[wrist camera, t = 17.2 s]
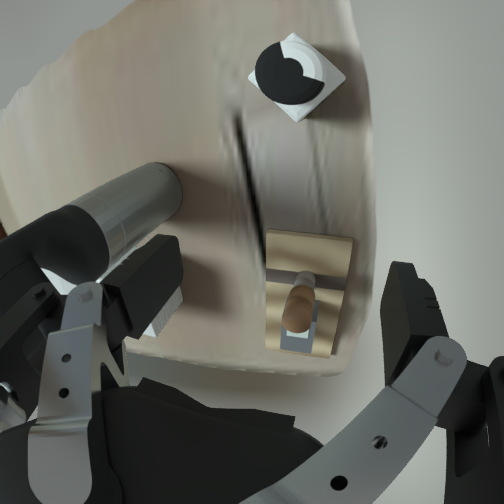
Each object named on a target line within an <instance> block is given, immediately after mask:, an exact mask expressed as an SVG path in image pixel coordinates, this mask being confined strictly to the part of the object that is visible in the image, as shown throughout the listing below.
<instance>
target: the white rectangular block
mask: <svg viewBox="0 0 504 504" xmlns="http://www.w3.org/2000/svg"><path fill="white" fill-rule="evenodd" d="M138 248H140V247H133V248H132V249H131V250H130V251H129V252H128V253H126V254H125V255H124V256H123V257H122V258H121V259H120V260H119V261H118V262H116V263H115V264H114V265H113V266H112V267H111V268H110V269H109V270H108V271H107V272H105V273H104V274H103V275H102V276H101V277H100V278H99V279H98V280H97V281H95V282H97V283H99V282H100V281H101V280H103V279H104V278H105V277H106V276H107V275H108V274H109V273H110V272H111V271H112V270H113V269H114V268H115V267H117V266H118V265H120V263H121V262H122V261H123V260H124V259H127V257H128V256H129V255H130V254H131V253H132V252H133V251H134V250H136V249H138ZM41 269H42V271H43V272H44V273H45V275H46V276H47V277H48V279H49V280H50V281H51V283H52V284H53V285H54V287H55V288H56V289H57V290H58V292H59V293H60V294H61V295H68V294H69V292H70V291H71V290H72V289H73V288H75V287H76V286H77V285H74V284H71V283H69V282H67V281H66V280H64V279H63V278H61V277H59V276H58V275H56V274H54V273H53V272H51V271H49V270H46V269H43V268H41ZM182 301H183V297H182V293H181V289H180V286H179V287H178V288H177V289H176V291H175V292H174V293H173V295H172V296H171V297H170V299H169V300H168V301H167V302H166V304H165V305H164V306H163V308H162V309H161V310H160V312H159V313H158V314H157V316H156V317H155V318H154V320H153V321H152V322H151V323H150V325H149V326H148V327H147V329H146V330H145V331H144V333H143V334H145V335H148V336H152V337H156V338H157V336H158V335H159V334H158V333H160V332H161V329H163V328H164V326H165V325H166V322H168V321H169V319H170V318H171V315H173V313H174V312H175V311H176V308H178V306H179V305H180V304H181V302H182Z"/></svg>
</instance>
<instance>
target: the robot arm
mask: <svg viewBox="0 0 504 504" xmlns="http://www.w3.org/2000/svg"><path fill="white" fill-rule="evenodd" d="M181 200H182V190H181V185H180V183H179V180H178V178H177V177H176V175H175V174H174V173H173V172H172V170H170V169H169V168H168V167H167V166H165V165H163V164H160V163H148V164H145V165H143V166H141V167H138V168H136V169H134V170H132V171H130V172H128V173H125V174H123V175H121V176H119V177H117V178H115V179H113V180H111V181H109V182H107V183H105V184H103V185H101V186H99V187H98V188H96V189H94V190H92V191H90V192H88V193H86V194H84V195H83V196H81V197H79V198H77V199H76V200H74V201H72V202H70V203H69V204H67V205H65V206H63V207H61V208H60V209H58V210H56V211H52V212H49V213H47V214H45V215H43V216H42V217H40V218H38V219H37V220H35V221H33V222H31V223H30V224H28V225H26V226H24V227H23V228H21V229H19V230H17V231H16V232H14V233H12V234H10V235H9V236H7V237H5V238H3V239H2V240H0V504H372V503H373V502H374V501H375V500H376V499H377V498H378V497H379V496H380V495H381V493H383V491H384V490H385V489H386V488H387V487H388V486H389V485H390V484H391V483H392V481H393V480H394V479H395V478H396V477H397V476H398V474H399V473H400V472H401V471H402V470H403V468H404V467H405V466H406V465H407V463H408V462H409V461H410V460H411V458H412V457H413V456H414V454H415V453H416V452H417V450H418V449H419V448H420V446H421V445H422V443H423V442H424V441H425V439H426V438H427V436H428V435H429V434H430V432H431V431H432V429H433V428H434V426H438V427H441V428H444V429H446V437H447V462H446V484H445V496H444V497H445V498H444V504H504V356H500V357H497V358H495V359H494V360H493V361H492V363H491V364H490V365H489V367H486V366H483V365H480V364H477V363H474V362H471V361H468V360H467V356H466V353H465V351H464V349H463V348H462V347H461V345H460V344H459V343H457V342H456V341H455V340H453V339H451V338H449V335H448V332H447V329H446V325H445V322H444V320H443V316H442V313H441V310H440V309H439V304H438V301H436V295H435V293H434V290H433V288H432V287H431V286H430V285H429V283H428V282H427V281H426V280H425V279H420V278H418V276H417V273H416V270H415V267H414V265H413V264H412V263H405V262H397V261H393V262H392V263H391V266H390V269H389V273H388V277H387V281H386V285H385V288H384V292H383V295H382V300H381V306H380V317H381V327H382V338H383V353H384V373H385V388H384V389H383V390H382V391H381V392H380V393H379V394H378V395H377V396H376V397H375V398H374V399H373V400H372V401H371V402H370V403H369V404H368V405H367V406H366V407H365V409H363V411H362V412H360V413H359V414H358V415H357V416H356V417H355V418H354V419H353V421H351V422H350V423H349V424H348V425H347V426H346V427H345V428H344V429H343V430H342V431H341V432H339V433H338V434H337V435H336V436H335V437H334V438H333V439H332V440H331V441H329V442H328V443H327V444H326V445H325V446H324V445H322V444H321V443H320V442H319V441H318V440H317V439H315V438H314V437H312V436H311V435H309V434H307V433H305V432H304V431H302V430H300V429H297V428H294V427H293V425H294V421H295V416H289V415H283V414H278V413H272V412H267V411H262V410H256V409H224V408H223V409H222V408H210V407H207V406H205V405H203V404H201V403H199V402H198V401H196V400H194V399H193V398H191V397H189V396H188V395H186V394H184V393H183V392H181V391H179V390H178V389H176V388H173V387H171V386H168V385H165V384H162V383H159V382H156V381H153V380H150V379H147V378H144V377H143V378H142V380H141V382H140V383H139V385H138V386H130V383H129V375H128V366H127V356H126V346H125V343H124V340H123V339H124V338H125V337H126V336H129V337H132V338H135V339H138V340H139V338H140V337H141V336H142V334H143V333H144V331H145V330H146V329H147V327H148V326H149V325H150V323H151V322H152V321H153V320H154V318H155V317H156V316H157V314H158V313H159V312H160V310H161V309H162V308H163V306H164V305H165V304H166V302H167V301H168V300H169V299H170V297H171V296H172V295H173V293H174V292H175V291H176V289H177V288H178V287H179V286H180V284H181V282H182V279H183V266H182V260H181V254H180V248H179V242H178V239H177V237H176V236H172V235H162V234H157V235H156V236H154V237H153V238H152V239H151V240H150V241H149V242H147V243H146V244H145V245H144V246H142V247H140V248H138V249H136V250H134V251H133V252H132V253H131V254H130V255H129V256H128V257H127V259H124V260H123V261H122V262H121V263H120V265H118V266H117V267H115V268H114V269H113V270H112V271H111V272H110V273H109V274H108V275H107V276H106V277H105V278H104V279H103V280H101V281H100V282H99V283H97V282H95V281H97V280H98V279H99V278H100V277H101V276H102V275H103V274H104V273H105V272H107V271H108V270H109V269H110V268H111V267H112V266H113V265H114V264H115V263H116V262H118V261H119V260H120V259H121V258H122V257H123V256H124V255H125V254H126V253H128V252H129V251H130V250H131V249H132V248H133V247H135V246H136V245H137V244H138V243H139V242H140V241H141V240H143V239H144V238H145V237H146V236H147V235H149V234H150V233H151V232H152V231H153V230H155V229H156V228H157V227H158V226H159V225H161V224H162V223H163V222H164V221H166V220H167V219H168V218H169V217H170V216H172V215H173V214H174V213H175V212H176V211H177V210H178V209H179V206H180V204H181ZM41 268H43V269H46V270H49V271H51V272H53V273H54V274H56V275H58V276H59V277H61V278H63V279H64V280H66V281H67V282H69V283H71V284H74V285H77V286H76V287H75V288H73V289H72V290H71V291H70V292H69V294H68V295H61V294H60V293H59V292H58V290H57V289H56V288H55V287H54V285H53V284H52V283H51V281H50V280H49V279H48V277H47V276H46V275H45V273H44V272H43V271H42V269H41ZM37 405H38V414H37V418H36V419H34V420H32V421H28V422H27V420H28V419H29V417H30V416H31V414H32V413H33V411H34V410H35V408H36V407H37ZM487 426H488V432H487ZM488 436H489V443H488Z"/></svg>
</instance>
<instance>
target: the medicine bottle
mask: <svg viewBox="0 0 504 504" xmlns="http://www.w3.org/2000/svg"><path fill="white" fill-rule="evenodd" d="M248 78H249V80H250V81H251V82H252V83H253V84H255V85H256V86H257V87H258V88H259V89H260V90H261V91H262V92H263V93H264V94H265V95H266V96H267V97H268V98H270V99H271V100H273V101H274V102H275V103H276V104H277V105H278V106H279V107H280V108H282V109H283V110H284V111H285V112H286V113H287V114H288V115H289V116H290V117H291V118H292V119H293V120H294V121H296V122H300V121H302V120H303V119H305V118H306V117H307V116H309V115H310V114H311V113H312V112H313V111H314V110H315V109H316V108H317V107H318V106H319V105H320V104H321V103H323V102H324V101H325V100H326V99H327V98H328V97H329V96H330V95H331V94H332V93H334V92H335V91H336V90H337V89H338V88H339V87H340V86H341V85H342V84H343V83H344V81H345V79H346V77H345V75H344V74H343V73H341V72H340V71H339V70H338V69H337V68H336V67H335V66H334V65H333V64H332V63H331V62H330V61H329V60H328V59H326V58H325V57H324V56H323V55H322V54H321V53H320V52H318V51H317V50H316V49H315V48H314V47H313V46H311V45H310V44H309V43H308V42H307V41H305V40H304V39H303V38H302V37H300V36H299V35H298V34H297V33H292V34H290V35H289V36H288V37H287V38H286V39H285V40H284V41H281V42H277V43H275V44H272V45H271V46H269V47H268V48H266V49H265V50H264V51H263V52H262V53H261V55H260V56H259V58H258V60H257V62H256V66H255V70H254V71H253V72H252V73H251V74H250V75H249V77H248Z"/></svg>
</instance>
